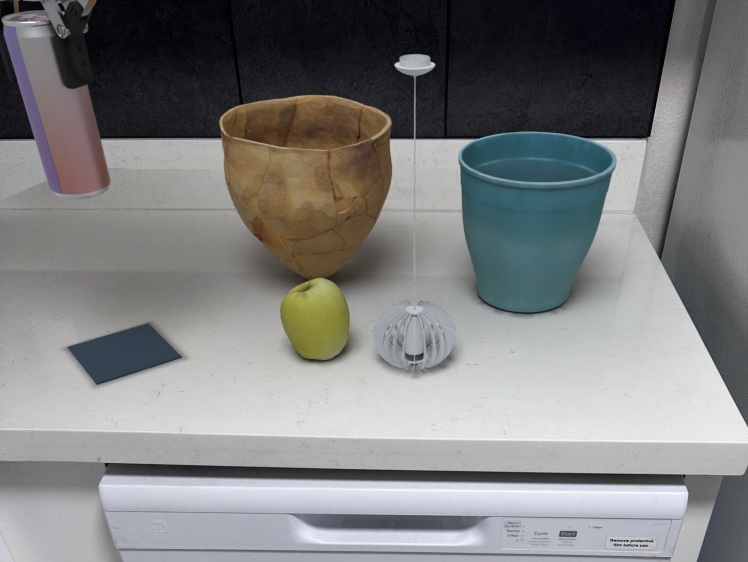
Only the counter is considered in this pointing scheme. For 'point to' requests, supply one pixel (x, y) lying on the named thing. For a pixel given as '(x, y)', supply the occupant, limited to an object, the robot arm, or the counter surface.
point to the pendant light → (422, 310)
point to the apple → (316, 319)
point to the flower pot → (531, 213)
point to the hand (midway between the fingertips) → (51, 80)
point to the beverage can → (56, 110)
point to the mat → (123, 353)
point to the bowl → (308, 176)
